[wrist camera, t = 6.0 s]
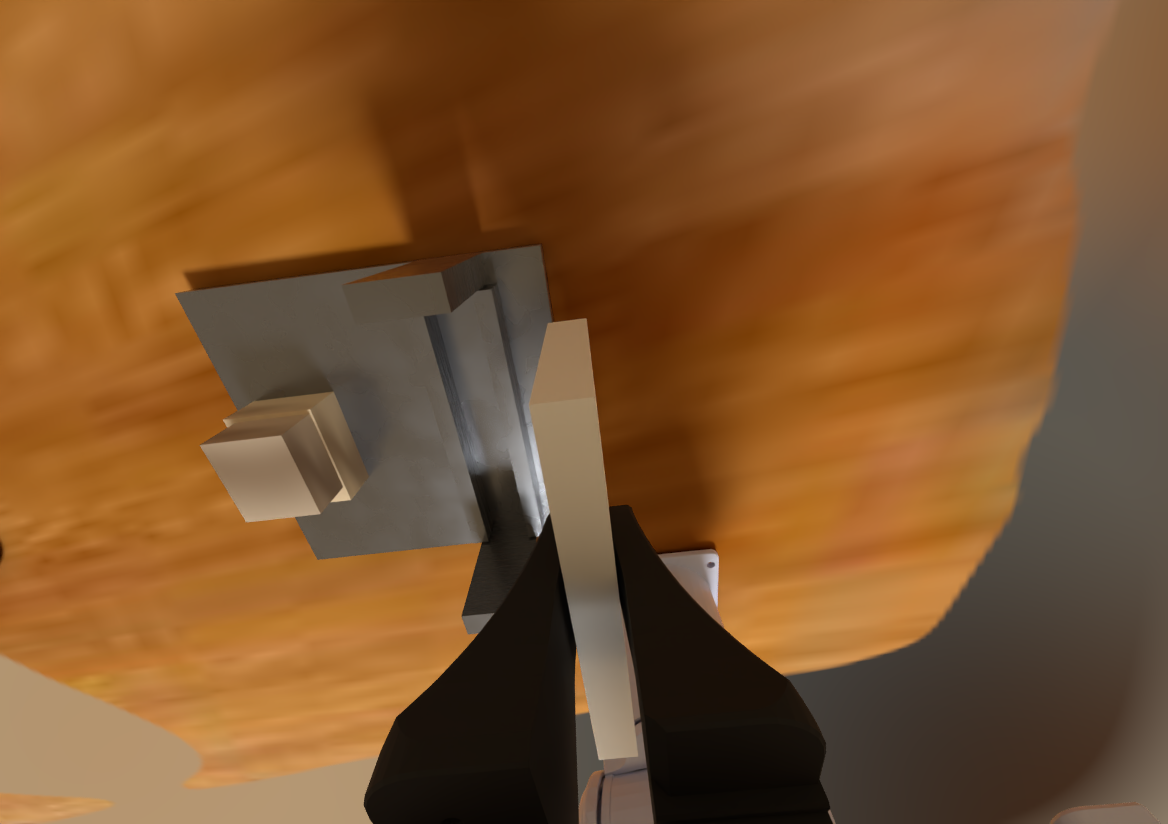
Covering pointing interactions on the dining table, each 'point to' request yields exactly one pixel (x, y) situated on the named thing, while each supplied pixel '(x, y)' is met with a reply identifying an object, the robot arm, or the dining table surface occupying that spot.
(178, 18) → the dining table surface
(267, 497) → the offcut top
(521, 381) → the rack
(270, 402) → the block
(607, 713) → the cream rectangular block
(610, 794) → the robot arm
